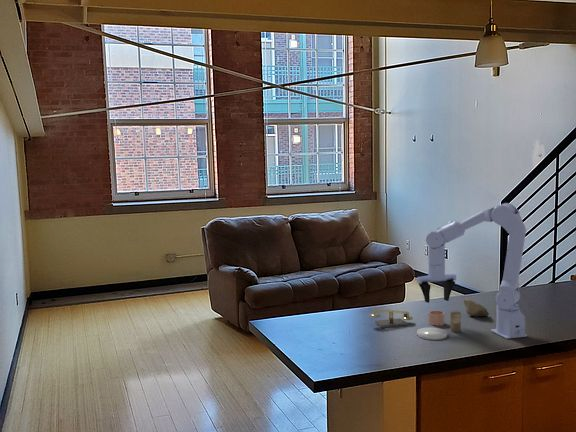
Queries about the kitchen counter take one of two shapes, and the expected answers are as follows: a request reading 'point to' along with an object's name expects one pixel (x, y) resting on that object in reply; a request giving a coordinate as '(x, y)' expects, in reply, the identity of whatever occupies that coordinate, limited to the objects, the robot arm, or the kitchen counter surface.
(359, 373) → the kitchen counter surface
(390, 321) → the balance
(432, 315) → the sleeve
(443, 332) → the white glossy domed part
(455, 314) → the peg
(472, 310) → the fossil
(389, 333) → the kitchen counter surface
